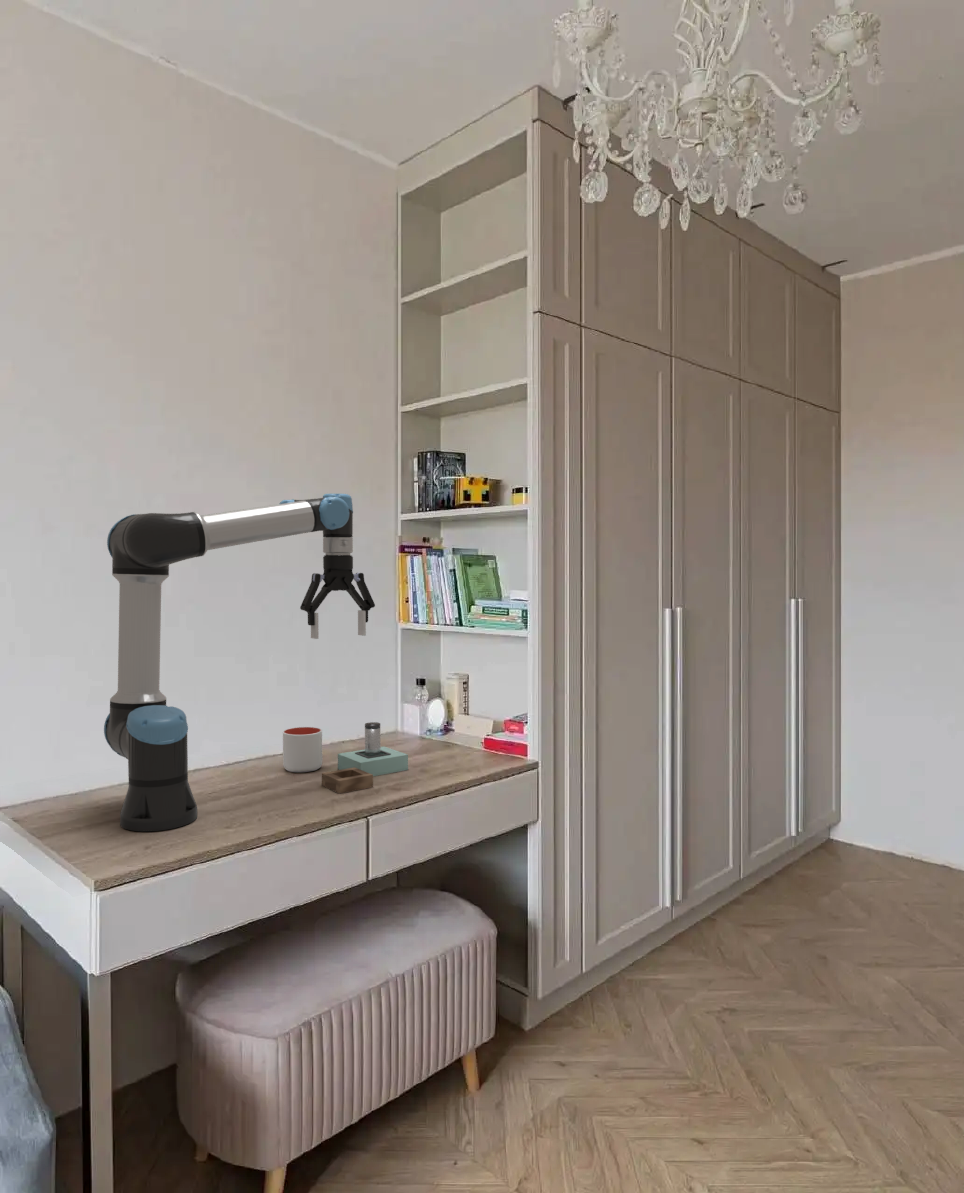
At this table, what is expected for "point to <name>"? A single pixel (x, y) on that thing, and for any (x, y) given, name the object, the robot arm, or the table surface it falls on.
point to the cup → (302, 749)
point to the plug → (372, 739)
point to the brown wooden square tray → (347, 780)
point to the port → (374, 761)
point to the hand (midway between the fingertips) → (338, 636)
